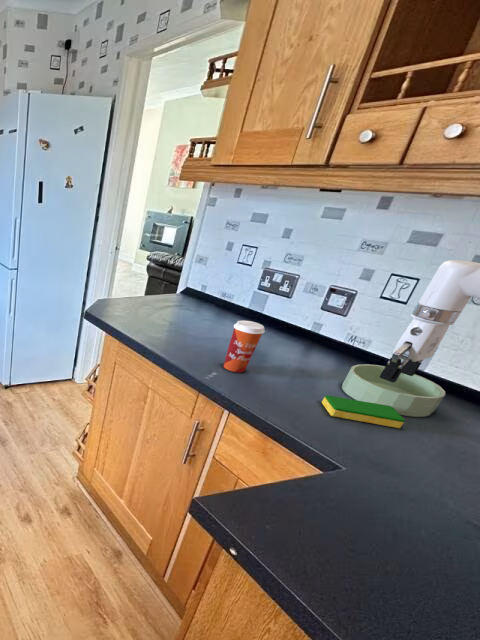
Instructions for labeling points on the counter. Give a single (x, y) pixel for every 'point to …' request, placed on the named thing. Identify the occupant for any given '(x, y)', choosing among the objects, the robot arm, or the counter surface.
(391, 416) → the dish sponge
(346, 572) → the counter surface
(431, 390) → the bowl
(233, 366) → the paper cup
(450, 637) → the counter surface
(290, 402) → the counter surface
